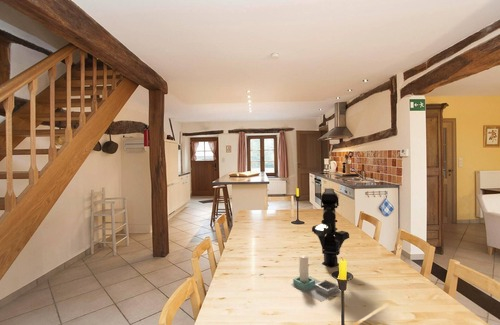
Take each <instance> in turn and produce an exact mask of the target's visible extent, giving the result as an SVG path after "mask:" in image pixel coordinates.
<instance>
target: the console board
mask: <svg viewBox="0 0 500 325" xmlns="http://www.w3.org/2000/svg"><path fill="white" fill-rule="evenodd" d="M309 278H311V279H313V280H315V284H317V283H320V282H322V281H321V280H318V279H316V278H314V277H312V276H309ZM290 285H291V286H292V287H294V288H296V289H297V290H299V291H301V292H303V293H305V294H306V295H308V296H310V297H312V298H314V299H315V300H317V301H319V302H321V303H323V302H324V301H326V300H328V299H330V298H332V297H334V296H336V295H338V294H340V293H341V292H342V291H341V290H340V289H338V292H337V293H335V294H333V295H331V296H329V297H327V296H325V295H323V294H322V293H320V292H318V291H316V290H315V286H313V287H311V288H309V289H307V290H303V289H301V288H299V287H297V286H295V285H294V284H293V283H290ZM323 288H325V289H327V290H328V289H330V288H328V287H323Z"/></svg>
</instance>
